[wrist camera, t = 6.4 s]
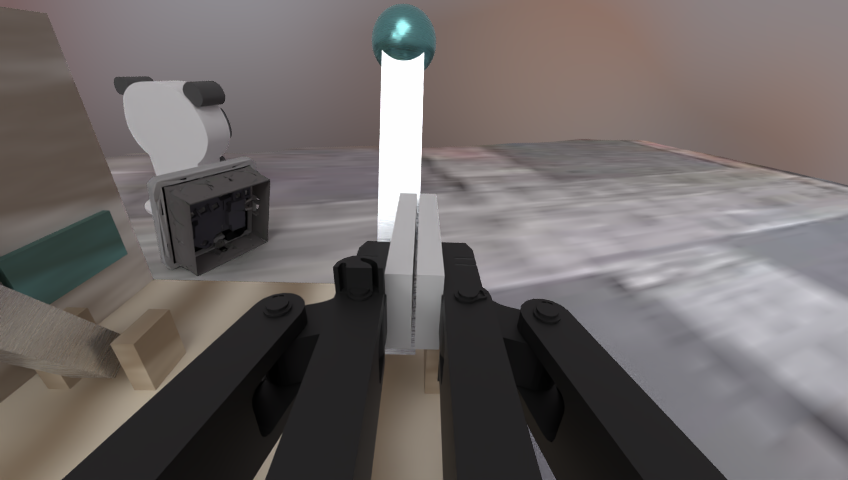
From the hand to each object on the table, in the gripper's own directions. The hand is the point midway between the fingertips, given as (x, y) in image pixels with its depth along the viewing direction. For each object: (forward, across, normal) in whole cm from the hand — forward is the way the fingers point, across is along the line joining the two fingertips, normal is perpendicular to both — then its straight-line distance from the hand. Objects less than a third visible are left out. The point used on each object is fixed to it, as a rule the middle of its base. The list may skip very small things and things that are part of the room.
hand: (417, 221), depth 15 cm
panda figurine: (+29, -30, -11) cm, 43 cm away
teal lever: (-1, -1, -7) cm, 7 cm away
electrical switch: (+15, -19, -11) cm, 27 cm away
